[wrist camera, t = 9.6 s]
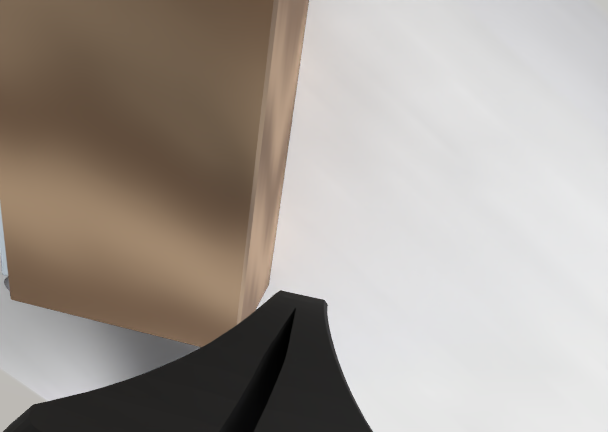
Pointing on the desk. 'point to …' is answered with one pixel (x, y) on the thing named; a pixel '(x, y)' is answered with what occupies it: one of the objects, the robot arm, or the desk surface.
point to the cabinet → (146, 156)
